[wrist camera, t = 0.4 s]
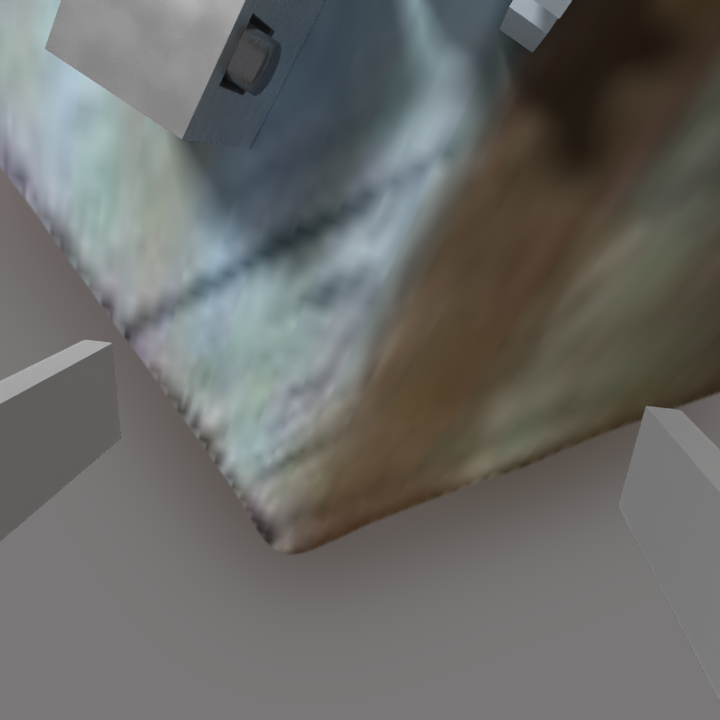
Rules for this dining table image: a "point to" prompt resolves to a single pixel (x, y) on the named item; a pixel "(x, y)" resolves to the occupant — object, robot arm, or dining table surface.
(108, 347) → the robot arm
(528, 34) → the v stand
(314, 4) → the grey box
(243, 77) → the axle
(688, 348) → the dining table surface
